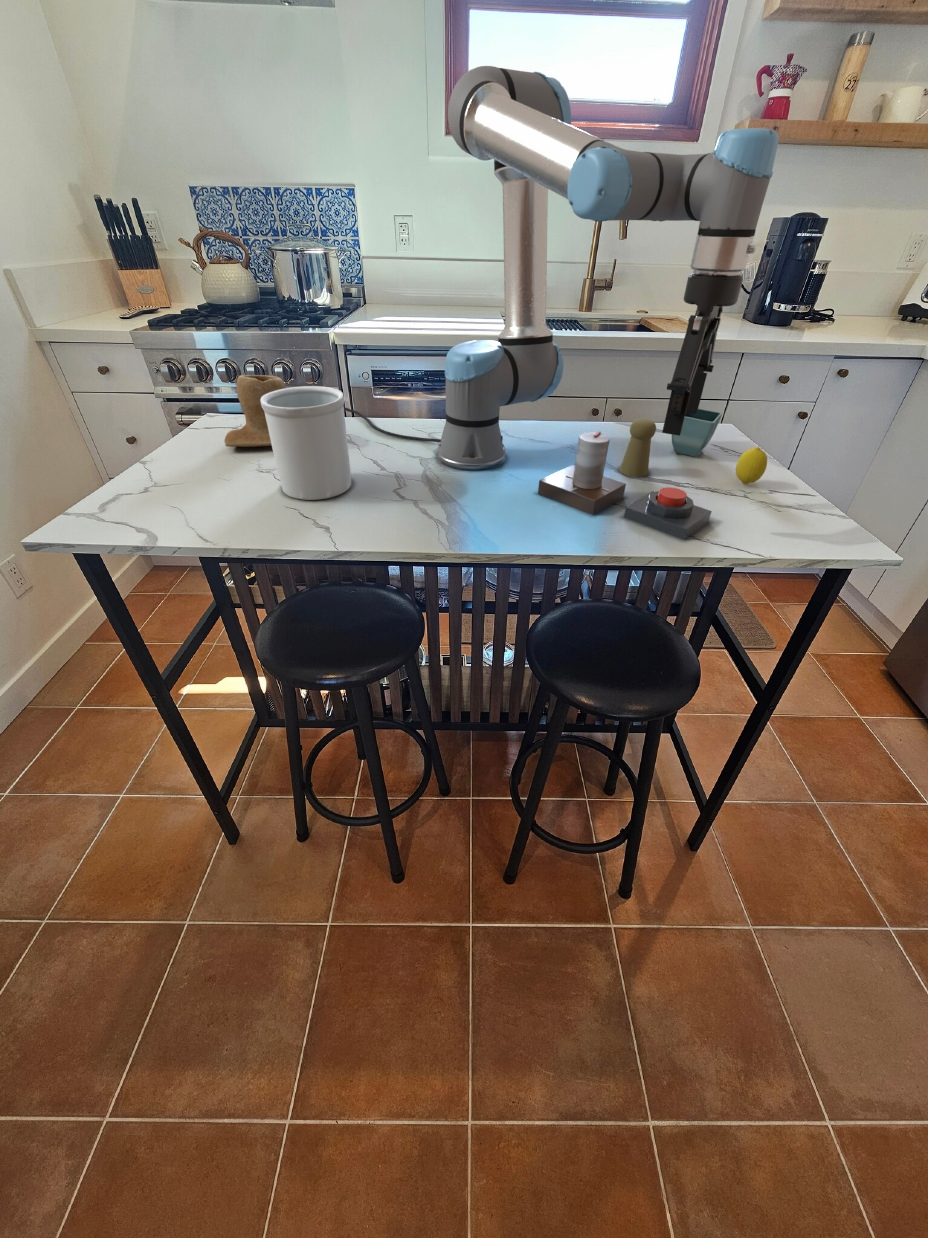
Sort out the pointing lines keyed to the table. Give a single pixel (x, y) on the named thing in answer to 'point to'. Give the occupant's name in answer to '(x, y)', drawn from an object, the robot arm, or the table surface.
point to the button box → (667, 515)
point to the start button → (672, 496)
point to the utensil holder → (309, 440)
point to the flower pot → (696, 432)
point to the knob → (590, 460)
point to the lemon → (751, 465)
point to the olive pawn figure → (638, 448)
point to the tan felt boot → (253, 410)
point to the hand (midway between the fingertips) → (680, 422)
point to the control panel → (580, 491)
